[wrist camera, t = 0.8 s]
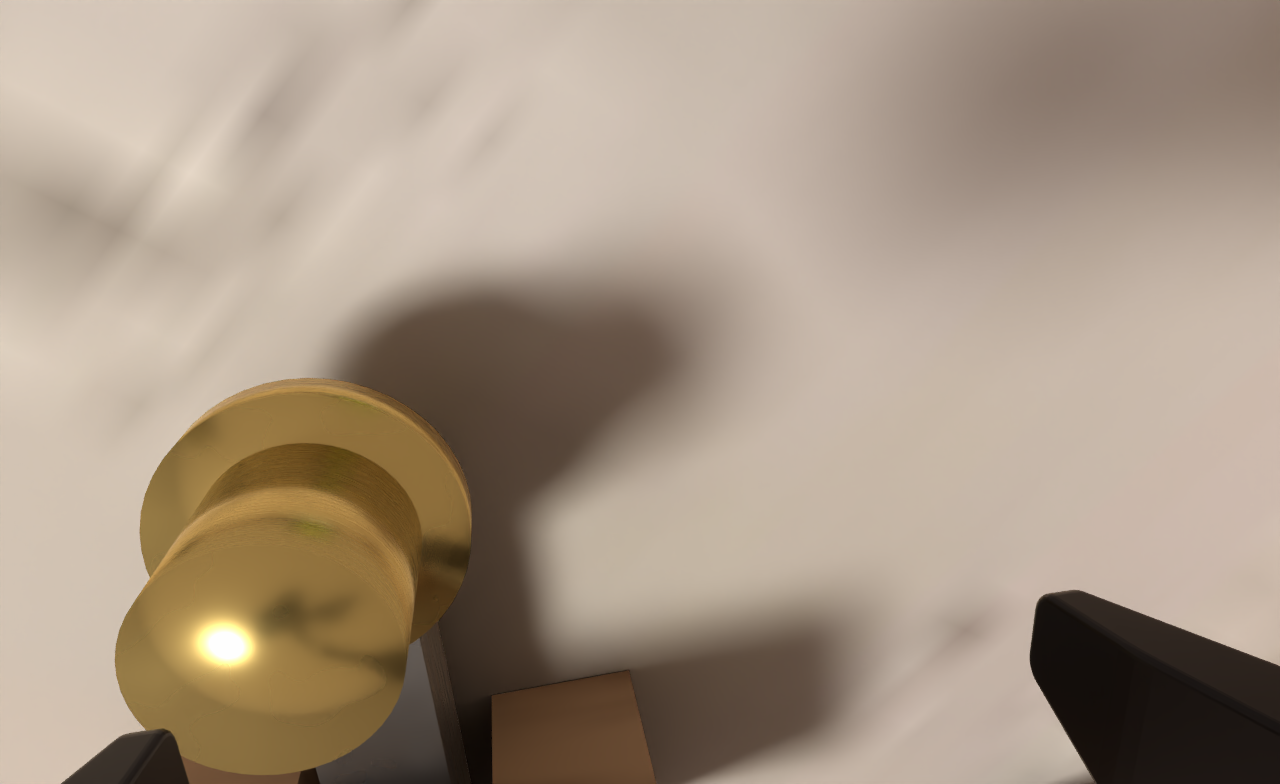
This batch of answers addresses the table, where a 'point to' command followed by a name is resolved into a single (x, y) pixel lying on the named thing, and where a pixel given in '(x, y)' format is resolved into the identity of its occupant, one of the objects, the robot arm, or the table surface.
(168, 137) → the table surface
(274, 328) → the table surface
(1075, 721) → the robot arm
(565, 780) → the block
